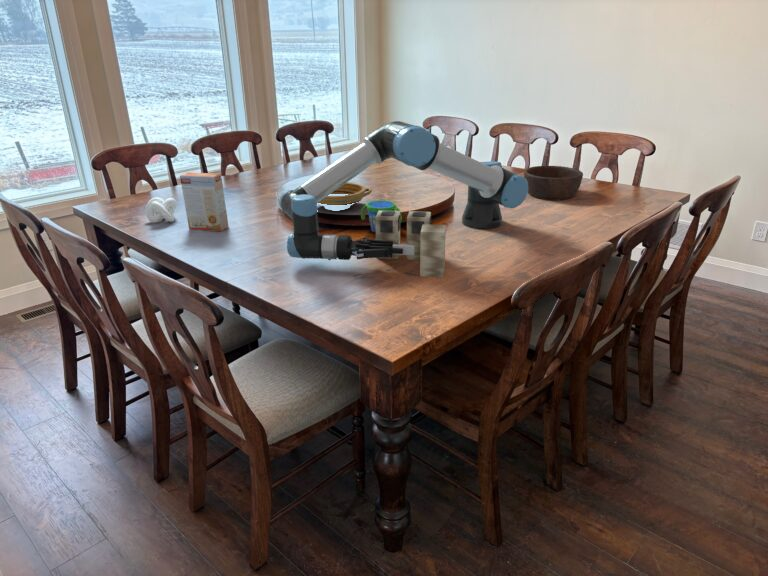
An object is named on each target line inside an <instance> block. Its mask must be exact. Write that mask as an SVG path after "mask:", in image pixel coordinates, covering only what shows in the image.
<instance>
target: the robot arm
mask: <svg viewBox="0 0 768 576" xmlns="http://www.w3.org/2000/svg"><path fill="white" fill-rule="evenodd" d="M389 159H394V160H396V161H399V162H401V163H402V164H404V165H407V166H409V167H413V168H414V169H417V170H420V171H426V170H428V169H429V170H432V171H434V172H436V173H438V174H441V175H442V176H445V177H447V178H450V179H452V180H454V181H456V182H459V183H460V184H461V183H462V184H464V185H466V186H468V187H467V202H466V203H467V204H466V205H465V208H464V210H463V213H462V217H461V222H462V225H464V226H467V227H469V228H473V229H493V228H494V229H495V228H498V227H500V226H502V223H503V216H502V211H501V207H500V205H501V206H503V207H504V208H507V209H516V208H518V207H519V206H521V205H522V204H523V203H524V202H525V200H526V198H527V196H528V195H529V194H528V182H527V180H526V179H525V178H524V175H522V174H519V173H515V172H513V171H511V170H509V169H506V168H504V167H503V166H502V163H501V161H493V160H491V161H479V160H476V159H474V158H472V157H470V156H468V155H466V154H464V153H461V152H459V151H457V150H455V149H453V148H451V147H449V146H447V145H444V144H443V143H440V138H439V137H438V136H437V135H435V134H433V133H432V132H430V131H429V130H428V129H426V128H424V127H422V126H420V125H415V124H411V123H407V122H404V121H398V120H395V121H391V122H387V123H386V124H383V125H382V126H380V127H379V128H377V129H376V130H374V131H372V132H371V133H370V134H368V135H367V136H365V137H363V139H362V143H361V144H358V146H356V147H355V148H353V149H352V150H351V151H349V152H347V153H346V154H345V155H343V156H342V157H340V158H339V159H337V160H336V161H334V162H333V163H332V164H330V165H329V166H327V167H325V169H323V170H321V171H320V172H318V173H317V174H316V175H314V176H313V177H311V178H310V179H309V180H307V181H306V182H304V183H302V184H301V185H299V186H298V187H296V188H295V189H288V190H287V189H286V190H285V191H283V192H282V194H281V195H280V196H279V201H278V202H279V206H280V208H281V209H282V211H283V213H285V215H287V216H288V217H289V218H290V219H291V220H292V224H293V233H290V234H289V235H288V237H287V239H286V244H287V245H286V250H287V254H288V255H289V256H290V257H292V258H298V259H316V260H319V259H321V260H322V259H323V260H324V259H325V260H328V261H331V260H336V259H338V260H341V261H342V260H343V261H350V260H351V258H352V256H354V257H356V260H363V259H383V258H382V257H389V255H390V257H392V254H397V255H399V256H402V255H403V256H404V255H405V256H407V255H414V253H415V245H407V244H401V243H400V244H393V241H383V240H376V238H375V239H372V238H368V237H363V239H358V240H353V239H352V236H350V235H346V234H344V235H343V234H341V235H337V234H320V233H319V219H318V218H319V217H318V205H317V203H318V202H319V201H320V200H322V199H323V198H325V197H326V196H328V195H329V194H331V193H332V192H334V191H335V190H336V189H338V188H339V187H341V186H342V185H344V184H345V183H347V182H349V181H351V180H353V179H354V178H355V177H357V176H358V175H360V174H361V173H362V172H364V171H365V170H367V169H368V168H370V167H371V166H373V165H374V164H378V165H379V164H381V163H383V162H384V161H387V160H389Z"/></svg>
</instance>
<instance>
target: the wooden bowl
mask: <svg viewBox="0 0 768 576" xmlns="http://www.w3.org/2000/svg"><path fill="white" fill-rule="evenodd" d="M583 176H584V173H583V172H582V170H579V169H577V168H572V167H569V166H561V165H537V166H530V167H527V168H526V169H524V171H523V177H524V178H525V179H526V180H527V182H528V194H527V195H530V196H531V197H534V198H536V199H542V200H550V201H558V200H559V201H561V200H568V199H571V198H573V197H575V195H576V194H577V193H578V191H579V189H580V187H581V184H582V181H583Z"/></svg>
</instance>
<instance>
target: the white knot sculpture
mask: <svg viewBox="0 0 768 576" xmlns="http://www.w3.org/2000/svg"><path fill="white" fill-rule="evenodd" d="M177 204H178V203H177V201H176V199H174V198H172V197H168V198H166V199H165V200H164V199H163V198H161V197H152V198H151V199H149V200H148V202H147V203H146V207H145V215H146V218H147V219H148V221H149V222H150V223H153V224H157V223H158V224H159V223H160V222H162V221H163V220H165V221H167V222H169V223H173V222H174V220H175V219H176V217H175V215H174V213H175V212H176V210H177Z"/></svg>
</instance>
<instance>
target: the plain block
mask: <svg viewBox="0 0 768 576" xmlns="http://www.w3.org/2000/svg"><path fill="white" fill-rule="evenodd" d="M446 233H447V225H446V224H431V225H428V224H423V225H422V229H421V241H420V260H419V263H420V264H419V269H420V270H419V276H420V277H437V278H444V274H445V269H446V268H445V266H446V265H445V264H446V263H445V262H446V260H445V259H446V237H447V236H446Z"/></svg>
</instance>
